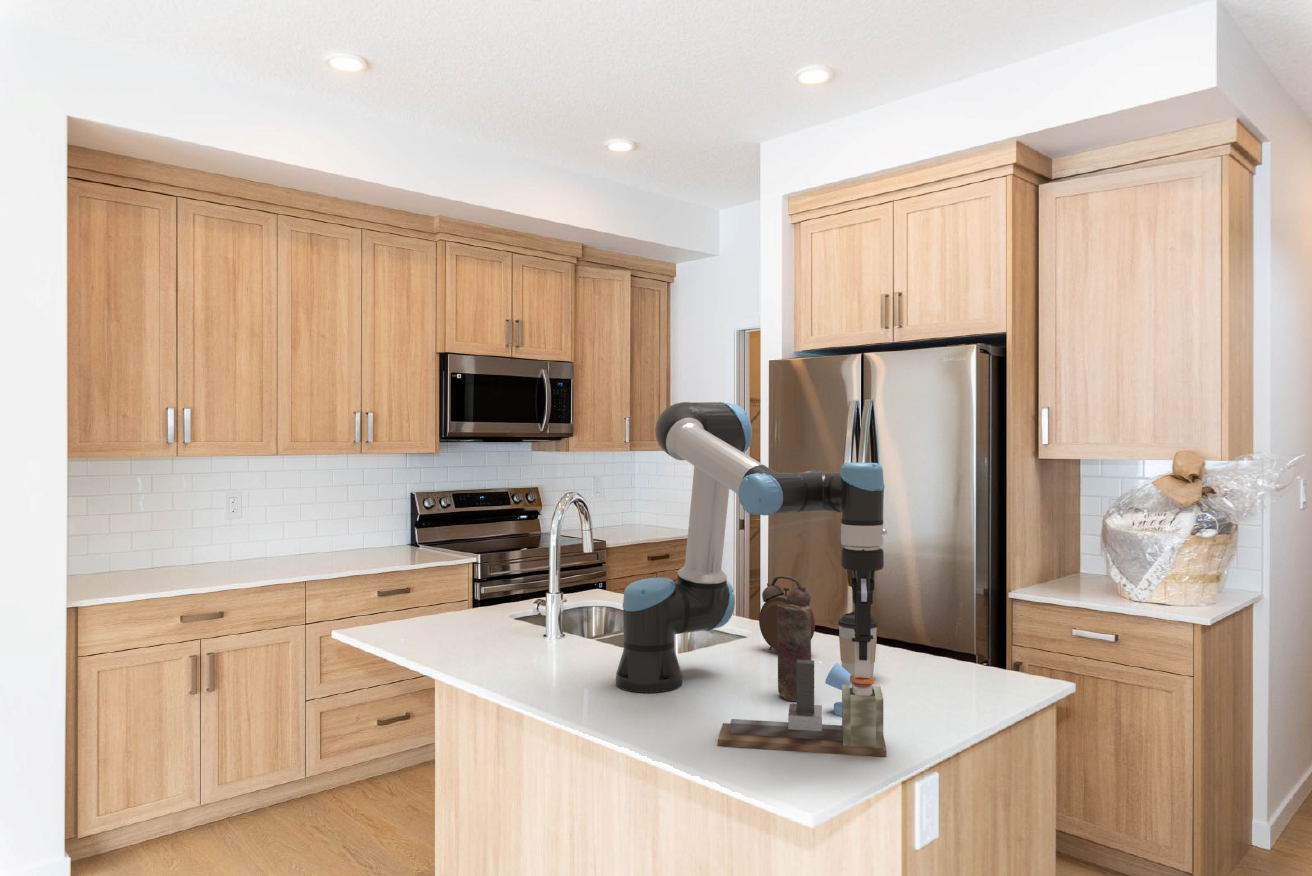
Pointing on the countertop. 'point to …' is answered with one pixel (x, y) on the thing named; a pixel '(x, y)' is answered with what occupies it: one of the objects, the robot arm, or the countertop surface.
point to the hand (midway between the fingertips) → (862, 676)
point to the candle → (792, 645)
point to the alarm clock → (769, 610)
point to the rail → (792, 744)
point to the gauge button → (862, 685)
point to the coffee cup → (848, 646)
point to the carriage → (805, 700)
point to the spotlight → (838, 683)
